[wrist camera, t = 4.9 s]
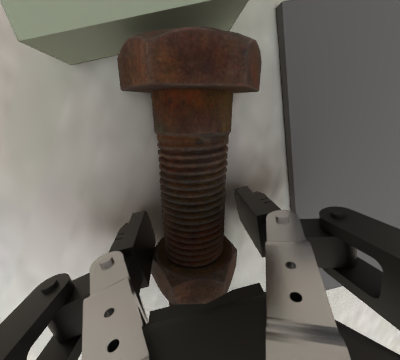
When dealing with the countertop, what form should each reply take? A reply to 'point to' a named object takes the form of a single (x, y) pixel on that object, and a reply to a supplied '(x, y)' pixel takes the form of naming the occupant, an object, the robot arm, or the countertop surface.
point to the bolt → (192, 147)
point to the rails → (108, 22)
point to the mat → (342, 108)
